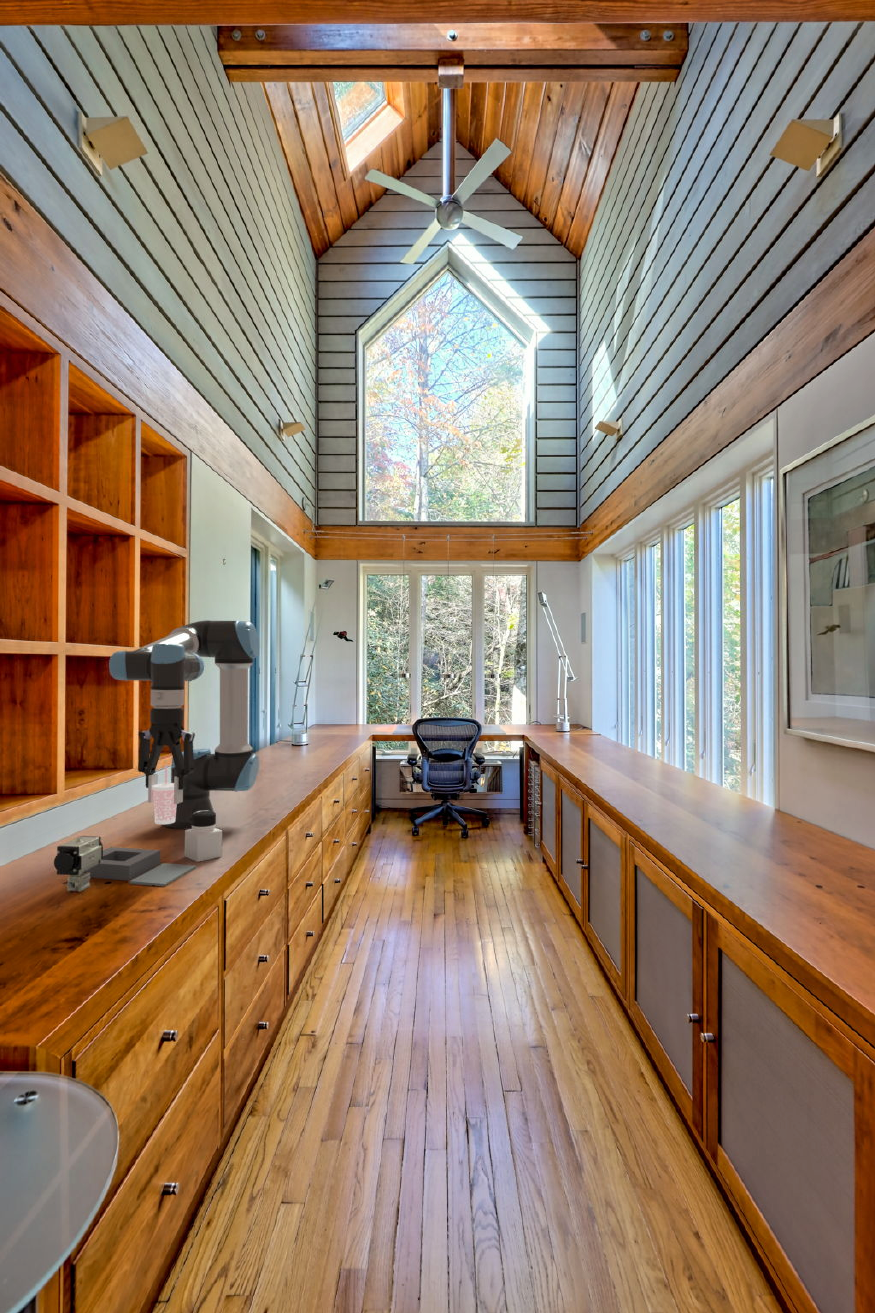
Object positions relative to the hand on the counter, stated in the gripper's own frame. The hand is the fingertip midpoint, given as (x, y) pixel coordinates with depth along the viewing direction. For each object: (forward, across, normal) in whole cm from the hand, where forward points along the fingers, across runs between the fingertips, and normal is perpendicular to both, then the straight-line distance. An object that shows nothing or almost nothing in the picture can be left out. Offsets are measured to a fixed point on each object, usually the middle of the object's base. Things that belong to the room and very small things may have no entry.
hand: (165, 802), depth 162 cm
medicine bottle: (+18, +2, +16) cm, 24 cm away
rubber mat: (+18, 0, 0) cm, 18 cm away
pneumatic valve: (+18, -13, -12) cm, 26 cm away
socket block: (+18, -13, +2) cm, 22 cm away
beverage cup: (+5, 0, 0) cm, 5 cm away
